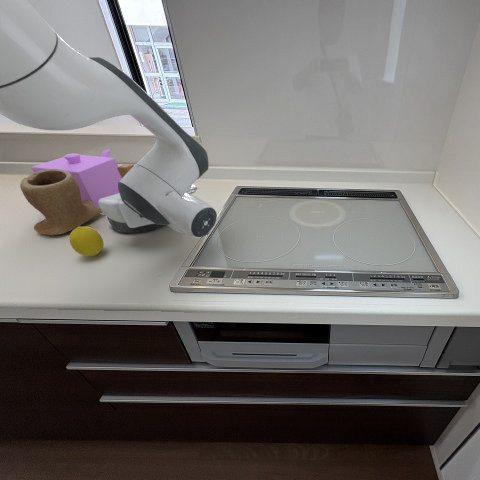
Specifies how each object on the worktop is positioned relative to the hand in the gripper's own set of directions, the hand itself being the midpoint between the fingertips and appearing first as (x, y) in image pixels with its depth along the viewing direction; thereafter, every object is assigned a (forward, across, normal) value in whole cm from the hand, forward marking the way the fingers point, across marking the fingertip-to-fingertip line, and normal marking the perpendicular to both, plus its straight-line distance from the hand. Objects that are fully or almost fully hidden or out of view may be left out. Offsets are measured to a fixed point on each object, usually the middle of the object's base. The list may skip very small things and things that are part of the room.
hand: (133, 187), depth 69 cm
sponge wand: (-2, 0, +8) cm, 8 cm away
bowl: (+2, 0, +10) cm, 11 cm away
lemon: (-6, +15, +11) cm, 19 cm away
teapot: (+29, +1, +11) cm, 31 cm away
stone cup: (+14, +12, +11) cm, 21 cm away
